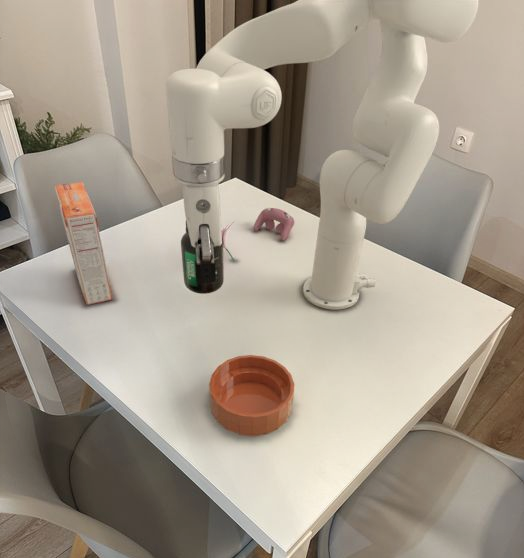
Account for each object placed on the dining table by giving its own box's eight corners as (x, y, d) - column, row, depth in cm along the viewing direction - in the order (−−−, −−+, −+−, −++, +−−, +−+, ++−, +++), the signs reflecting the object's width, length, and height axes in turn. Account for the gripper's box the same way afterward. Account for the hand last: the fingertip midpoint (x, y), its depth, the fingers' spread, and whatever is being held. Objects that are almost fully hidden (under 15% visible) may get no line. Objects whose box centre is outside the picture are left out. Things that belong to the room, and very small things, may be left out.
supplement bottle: (193, 299, 86) (188, 235, 78) (178, 277, 90) (172, 215, 82) (230, 288, 88) (229, 226, 80) (214, 268, 93) (212, 206, 84)
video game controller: (290, 241, 135) (298, 215, 132) (283, 241, 130) (291, 214, 128) (259, 230, 138) (266, 204, 136) (250, 229, 134) (258, 202, 132)
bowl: (281, 372, 97) (283, 351, 93) (300, 432, 87) (303, 410, 83) (205, 381, 94) (204, 359, 90) (216, 443, 84) (215, 421, 80)
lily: (234, 244, 131) (216, 212, 126) (260, 248, 122) (242, 213, 117) (200, 273, 127) (179, 241, 122) (224, 279, 118) (203, 245, 113)
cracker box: (73, 271, 117) (53, 184, 103) (100, 266, 119) (83, 180, 105) (84, 306, 108) (63, 216, 94) (113, 300, 110) (97, 211, 96)
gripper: (232, 192, 69) (232, 297, 81) (216, 142, 82) (219, 240, 94) (176, 195, 68) (185, 301, 80) (169, 143, 80) (177, 242, 93)
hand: (203, 267), depth 87 cm, fingers closed on supplement bottle, 6 cm apart
